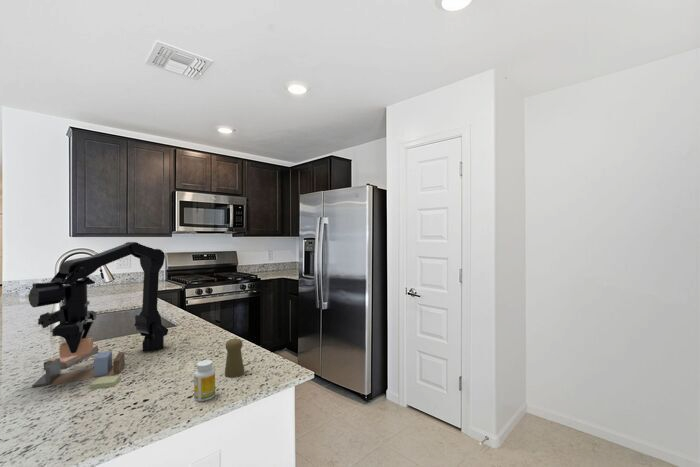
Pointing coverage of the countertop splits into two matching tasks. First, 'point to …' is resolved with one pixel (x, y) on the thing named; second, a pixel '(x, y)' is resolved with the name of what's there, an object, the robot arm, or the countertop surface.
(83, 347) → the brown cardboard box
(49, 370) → the bookend
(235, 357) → the cork
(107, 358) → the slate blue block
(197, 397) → the supplement bottle
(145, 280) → the robot arm
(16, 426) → the countertop surface
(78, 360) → the packaged product
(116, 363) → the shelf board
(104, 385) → the olive book
